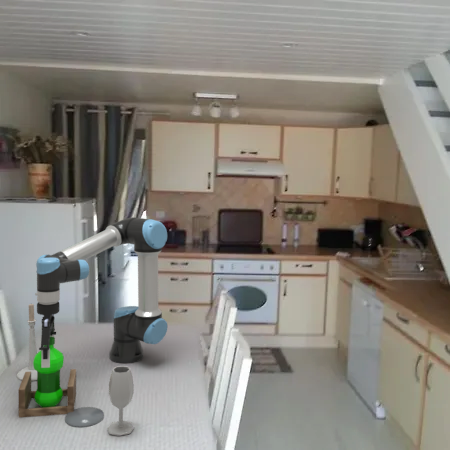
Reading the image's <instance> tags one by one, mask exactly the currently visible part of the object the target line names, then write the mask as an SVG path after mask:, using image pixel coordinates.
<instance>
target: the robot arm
mask: <svg viewBox="0 0 450 450" xmlns="http://www.w3.org/2000/svg"><path fill="white" fill-rule="evenodd" d="M167 231H168V230H167V228H166V227H165V224H163V223H162V222H161V221H159V220H155V219H151V218H143V217H142V218H141V217H134V216H132V217H129V218H128V217H127V218H124V219H121V220H119V221H117V222H116V221H115V222H114V223H111V224H110V225H107V227H106V228H105V230H103V231H101V232H98V233H96V234H94V235H92V236H90V237H88V238H85V239H84V240H82V241H79V242H77V243H75V244H73V245H71V246H69V247H66V248H64V249H62V250H60V251H58V252H56V253H53V254H42V255H40V256H39V257H38V259H37V261H36V262H35V263H36V264H35V265H36V292H35V294H34V295H35V296H36V299H37V300H36V302H37V303H36V313H37V314H38V315H40V316H41V315H42V319H41V335H40V336H41V340H40V341H41V342H40V347H38V350H39V351H41V368H49V367H50V347H49V345H50V337H54V338H55V335H57V331H56V329H55V315H57V314H58V313H60V302H59V301H60V299H61V297H60V294H61V293H60V292H61V291H60V289H61V288H60V286H61V284H65V283H71V282H76V281H78V282H79V281H81V280H85V279H87V278H88V276H89V275H90V265H89V264H88V262H87V261H86V260H88V259H90V258H92V257H93V256H96V255H98V254H100V253H102V252H104V251H106V250H108V249H110V248H112V247H115V248H117V247H119V246H121V245H127V244H128V245H129V244H130V245H133V250H134V253H135V254H136V255H137V290H138V291H137V293H138V294H137V298H138V299H137V300H138V301H137V302H138V304H137V305H138V306H136V305H129V306H122V307H118V308H116V309H115V310H114V313H113V341H112V345H111V347H110V351H109V359H110V360H111V361H112V362H115V363H119V364H129V363H131V364H132V363H135V362H138V361H140V360H142V359H143V358H144V350H143V347H142V344H141V342H143V343H145V344H149V345H157V344H159V343H161V341H163V340H164V339H165V337H166V334H167V332H168V322H167V321H166V320H165V319H164V318H163V314H162V313H163V311H162V310H161V309H160V308H159V254H160V253H161V252H162V248H163V247H164V246H165V245H166V242H167V240H168V232H167ZM53 347H54V348H55V344H53Z"/></svg>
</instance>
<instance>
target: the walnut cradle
mask: <svg viewBox="0 0 450 450" xmlns="http://www.w3.org/2000/svg"><path fill="white" fill-rule="evenodd" d="M20 382H21V383H20V385H19V387H18V390H17V392H18V394H17V395H18V418H20V419H21V418H30V417H32V418H33V417H46V416H55V415H57V416H59V415H67V413H69V412H73V411H74V409H75V405H76V398H77V369H76V368H72V369H70V370H69V376H68V382H67V385H66V387H67V388H62V390H63V396H62V397H66V398H67V400H66V401H67V403H66V404H67V405H60V406H59V405H58V406H55V407H44V408H42V407H36V408H35V407H32V408H29V406H30V404H31V403H30V402H31V400H32V399H31V398H33V399H35V393H36V390H32V381H31V372H25V374H24V377H23V379H22V380H21V381H20Z"/></svg>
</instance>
